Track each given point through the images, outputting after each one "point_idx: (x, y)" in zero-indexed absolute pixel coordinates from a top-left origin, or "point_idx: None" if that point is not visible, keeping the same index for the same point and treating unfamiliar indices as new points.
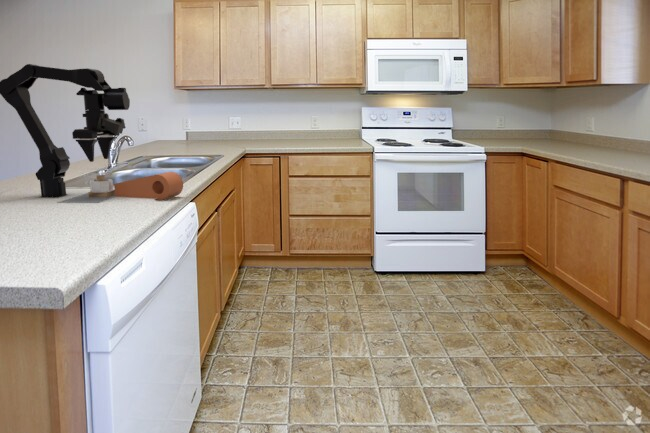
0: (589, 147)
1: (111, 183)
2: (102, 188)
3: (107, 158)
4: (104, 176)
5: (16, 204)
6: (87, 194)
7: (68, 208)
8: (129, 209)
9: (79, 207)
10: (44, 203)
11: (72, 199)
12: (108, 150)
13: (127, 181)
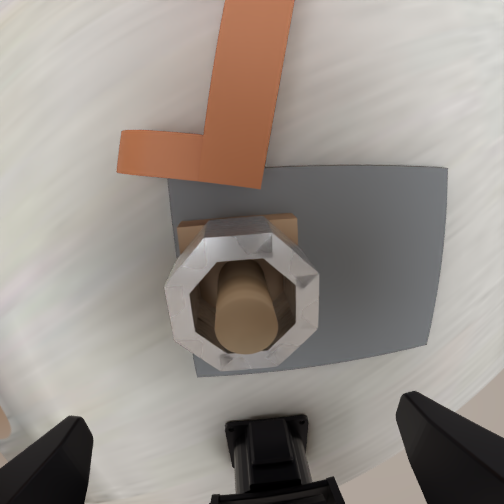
0: None
1: (229, 229)
2: (299, 250)
3: (74, 416)
4: (239, 297)
5: (397, 439)
6: None
7: (491, 247)
8: (482, 20)
9: (480, 218)
10: (393, 392)
11: (363, 337)
12: (31, 473)
13: (281, 65)
